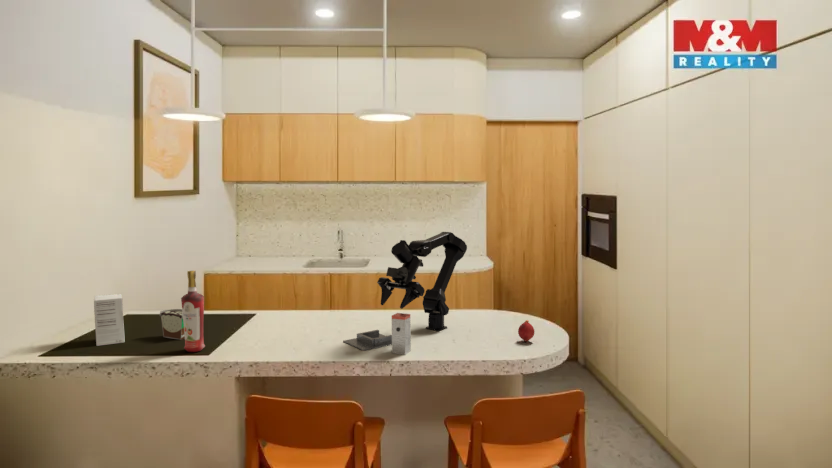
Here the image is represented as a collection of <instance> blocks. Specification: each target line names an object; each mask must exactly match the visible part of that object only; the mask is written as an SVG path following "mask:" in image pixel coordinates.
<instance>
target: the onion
mask: <svg viewBox="0 0 832 468" xmlns="http://www.w3.org/2000/svg"><path fill="white" fill-rule="evenodd" d="M517 334H518V336H519V338H520V339H521V340H523V341H524V342H529V341H530V340H531V339H533V337H534V335H535V328H534V326H533V325H532V324H531V323H530V322H529V320H528V319H527V320H524V322H522V323H521V324H520V326H519V327H518V329H517Z"/></svg>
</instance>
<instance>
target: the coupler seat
mask: <svg viewBox="0 0 832 468" xmlns="http://www.w3.org/2000/svg"><path fill="white" fill-rule="evenodd" d="M342 342H343V343H345V344H348V345H349V346H352V347H354V348H356V349H359V350H361V351H363V352H364V351H368V350H373V349H377V348H382V346H383V347H386V345H387V346H391V345H390V344H392V334H388V335H384V334H381V333H380V329H374V330H370V331H364V332H359V333H356V337H355V338H351V339H350V338H349V339H345V340H343V341H342Z"/></svg>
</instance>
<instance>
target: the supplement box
mask: <svg viewBox="0 0 832 468" xmlns="http://www.w3.org/2000/svg"><path fill="white" fill-rule="evenodd" d="M93 310H94V311H93V313H94V314H93V315H94V328H95V329H94V330H95V342H96V343H95V344H96V346H97V347H98V346H106V345H113V344H122V343H125V342H126V341H125V325H124V323H125V322H124V303H123V295H122V293H115V294H104V295H103V294H102V295H100V294H99V295H94V296H93Z"/></svg>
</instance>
